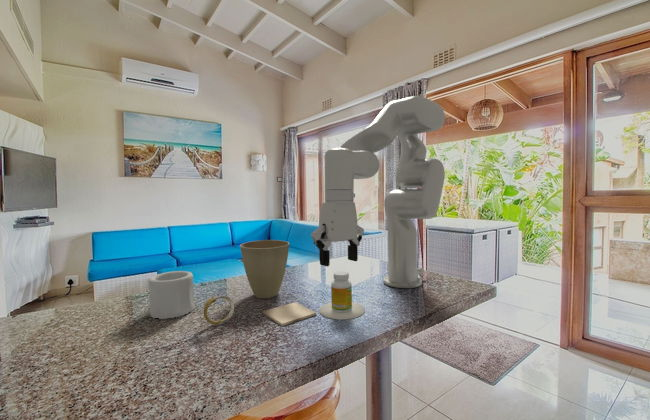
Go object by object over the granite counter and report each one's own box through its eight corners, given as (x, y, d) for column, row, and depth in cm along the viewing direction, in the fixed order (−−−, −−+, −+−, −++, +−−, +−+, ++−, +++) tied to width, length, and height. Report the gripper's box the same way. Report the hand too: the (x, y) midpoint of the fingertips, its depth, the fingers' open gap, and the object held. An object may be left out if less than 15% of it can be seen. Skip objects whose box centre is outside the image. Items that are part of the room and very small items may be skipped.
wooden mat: (295, 304, 86) (294, 302, 86) (316, 314, 78) (316, 312, 78) (262, 313, 80) (262, 311, 80) (282, 326, 72) (282, 323, 72)
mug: (201, 310, 83) (199, 274, 82) (158, 324, 75) (156, 284, 74) (181, 299, 92) (179, 267, 91) (141, 310, 84) (138, 274, 84)
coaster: (343, 298, 89) (343, 298, 89) (374, 310, 80) (374, 309, 80) (310, 309, 82) (310, 308, 82) (339, 323, 72) (339, 322, 72)
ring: (204, 330, 71) (202, 296, 70) (203, 324, 74) (202, 292, 73) (235, 324, 74) (234, 291, 73) (233, 319, 77) (232, 288, 76)
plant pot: (242, 305, 86) (240, 249, 85) (241, 289, 100) (239, 241, 99) (295, 299, 90) (293, 245, 89) (286, 284, 104) (285, 238, 103)
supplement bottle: (350, 313, 78) (350, 276, 77) (330, 312, 79) (329, 275, 78) (353, 305, 83) (352, 270, 82) (333, 304, 84) (332, 270, 83)
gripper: (353, 197, 87) (353, 256, 88) (303, 197, 77) (303, 265, 77) (372, 197, 81) (372, 260, 82) (321, 197, 71) (321, 270, 71)
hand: (339, 262), depth 80 cm, fingers open, 9 cm apart
